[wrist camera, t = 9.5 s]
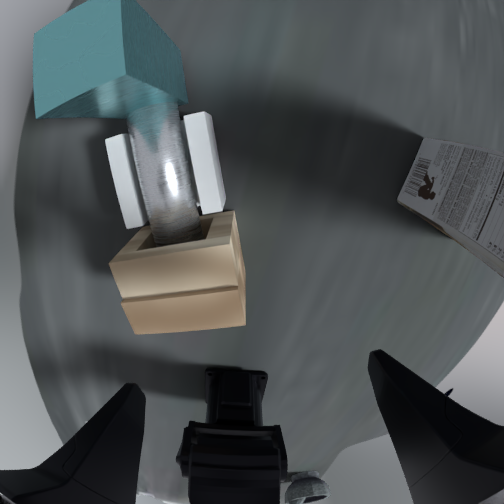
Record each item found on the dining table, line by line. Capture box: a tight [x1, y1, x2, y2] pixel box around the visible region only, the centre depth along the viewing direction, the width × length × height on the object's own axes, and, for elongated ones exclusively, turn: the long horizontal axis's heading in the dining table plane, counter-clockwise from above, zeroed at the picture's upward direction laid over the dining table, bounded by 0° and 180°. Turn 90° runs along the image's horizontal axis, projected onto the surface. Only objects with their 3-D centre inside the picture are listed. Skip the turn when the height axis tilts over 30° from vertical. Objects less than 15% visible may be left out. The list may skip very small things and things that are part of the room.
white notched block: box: [105, 111, 226, 229], centre depth 16 cm, size 6×6×3 cm
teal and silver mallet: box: [33, 0, 205, 247], centre depth 12 cm, size 14×4×10 cm, turn 9°
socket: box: [109, 210, 246, 334], centre depth 18 cm, size 5×7×7 cm
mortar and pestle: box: [285, 471, 331, 504], centre depth 38 cm, size 11×9×12 cm
